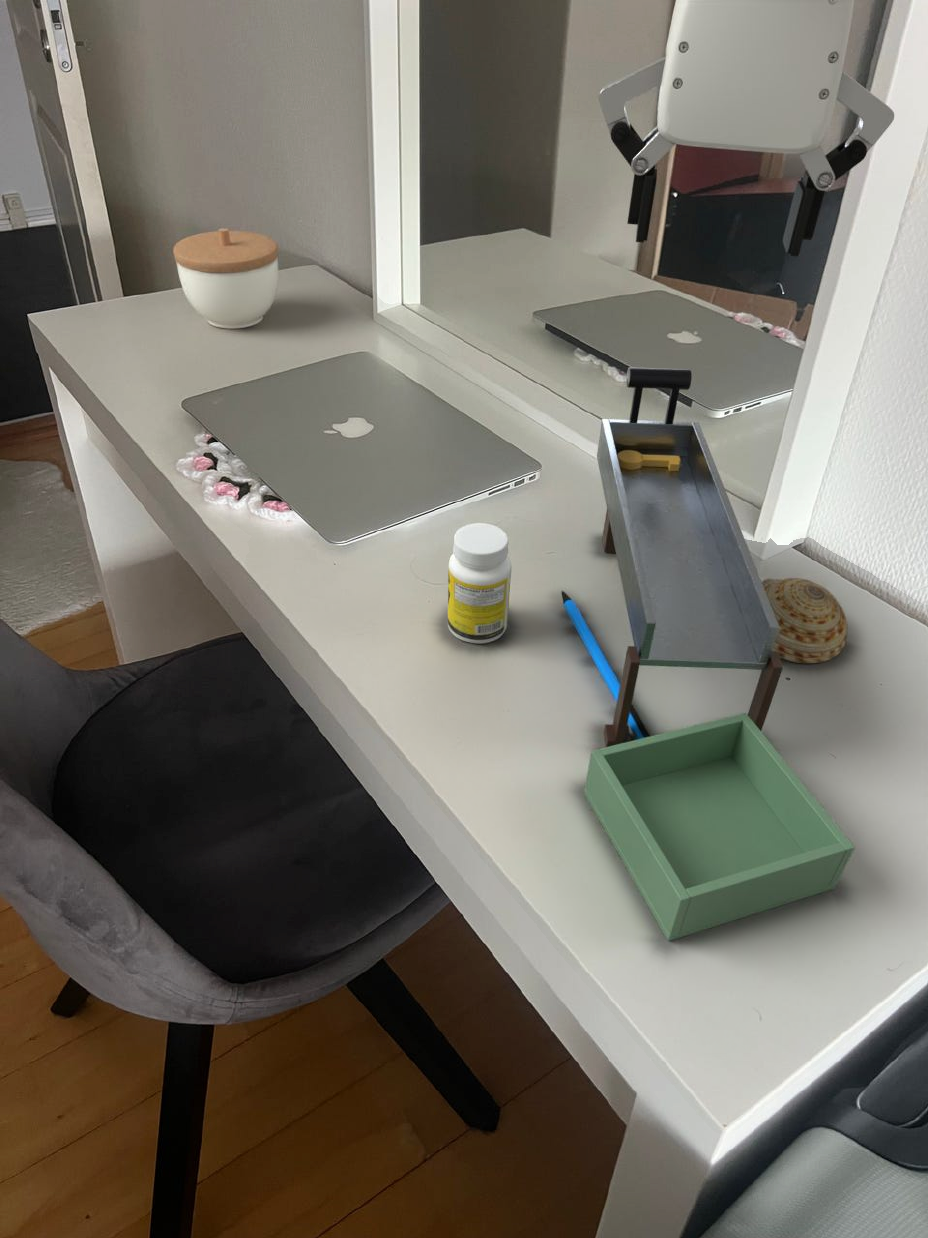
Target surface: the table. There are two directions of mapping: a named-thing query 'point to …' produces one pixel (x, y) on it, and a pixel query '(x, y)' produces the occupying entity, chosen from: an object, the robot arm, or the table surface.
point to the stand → (620, 729)
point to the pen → (602, 664)
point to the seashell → (806, 620)
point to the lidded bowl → (228, 276)
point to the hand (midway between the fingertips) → (715, 242)
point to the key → (647, 460)
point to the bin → (713, 824)
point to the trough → (681, 543)
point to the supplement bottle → (479, 583)
